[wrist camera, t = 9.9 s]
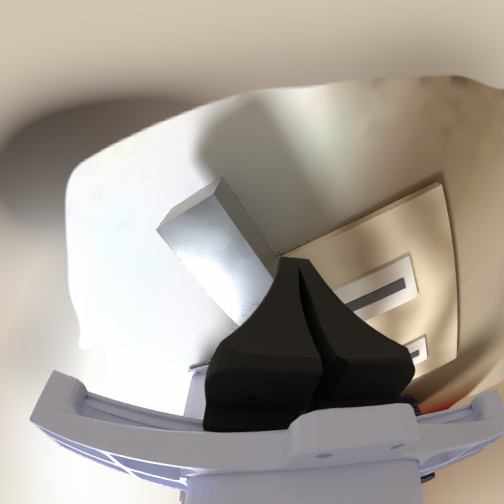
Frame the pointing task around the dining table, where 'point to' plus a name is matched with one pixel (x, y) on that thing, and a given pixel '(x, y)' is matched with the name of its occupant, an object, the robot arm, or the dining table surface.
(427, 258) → the label board
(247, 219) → the grey square pillar
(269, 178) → the dining table surface
